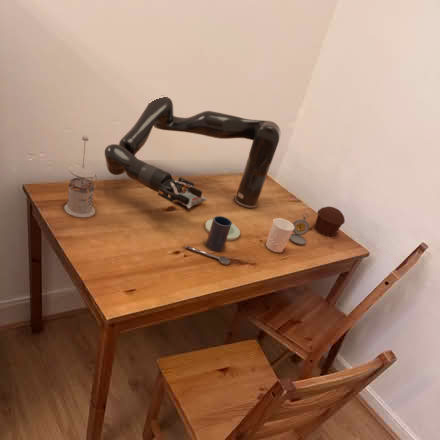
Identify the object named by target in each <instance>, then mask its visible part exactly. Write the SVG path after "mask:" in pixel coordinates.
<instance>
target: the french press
mask: <svg viewBox="0 0 440 440" xmlns="http://www.w3.org/2000/svg"><path fill="white" fill-rule="evenodd" d="M81 140H82V141H84V142H89V136H87V135H82V137H81ZM83 144H84V146H83V155H85V153H86V143H83ZM82 158H83V159H82V164H81V163H79V164H75V165H71V166H70V167H69V170H68V171H69V172H70V174H71V175H73V176H74V177H73V178H71V179H70V180H69V184H68V194H67V203H66V204H65V205H64V208H63V209H64V211H65V213H67V214H68V215H70V216H73V217H76V218H90V217H92V216H94V214H96V209H95V208H94V206H93V204H94V196H95V195H94V193H95V188H96V185H97V171H96V170H95V169H94V168H92V167H90V166H89V165H86V164H85V156H83V157H82ZM94 177H95V182H93V178H94ZM90 179H91V180H90Z"/></svg>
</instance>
